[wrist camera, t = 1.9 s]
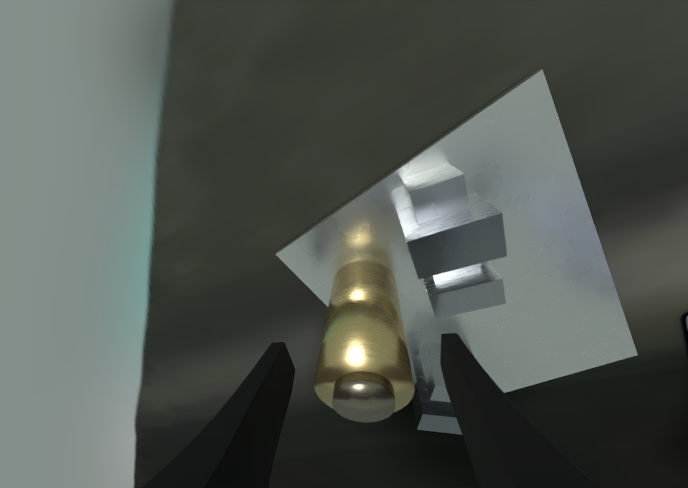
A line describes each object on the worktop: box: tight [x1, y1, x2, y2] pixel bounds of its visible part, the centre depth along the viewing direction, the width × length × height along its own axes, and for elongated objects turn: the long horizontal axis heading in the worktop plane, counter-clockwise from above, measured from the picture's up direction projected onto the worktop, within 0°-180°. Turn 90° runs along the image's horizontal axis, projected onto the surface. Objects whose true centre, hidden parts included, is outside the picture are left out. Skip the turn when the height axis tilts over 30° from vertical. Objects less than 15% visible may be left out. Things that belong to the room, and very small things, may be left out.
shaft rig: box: [276, 70, 638, 435], centre depth 14 cm, size 15×20×4 cm
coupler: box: [314, 260, 414, 422], centre depth 12 cm, size 4×4×7 cm
